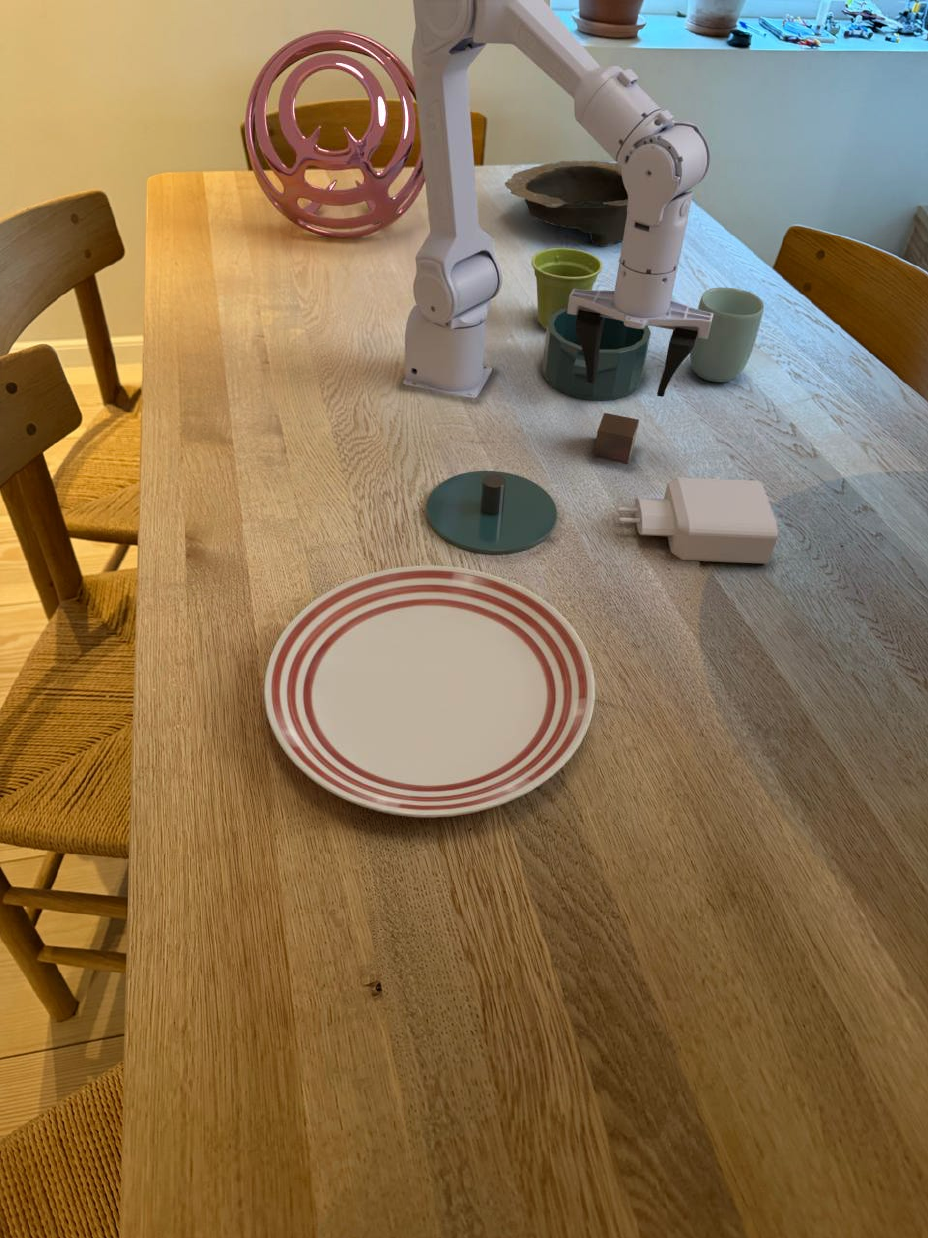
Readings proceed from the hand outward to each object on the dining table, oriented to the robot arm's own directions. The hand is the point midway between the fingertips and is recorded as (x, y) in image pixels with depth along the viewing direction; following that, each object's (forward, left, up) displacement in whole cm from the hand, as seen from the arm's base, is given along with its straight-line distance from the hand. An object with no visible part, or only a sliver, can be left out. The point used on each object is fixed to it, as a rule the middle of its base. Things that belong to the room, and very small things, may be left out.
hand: (626, 385), depth 103 cm
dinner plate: (-8, -42, -9) cm, 44 cm away
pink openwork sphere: (-53, +47, -9) cm, 71 cm away
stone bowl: (-18, +64, -9) cm, 67 cm away
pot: (-6, +17, -9) cm, 20 cm away
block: (0, 0, -9) cm, 9 cm away
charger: (+10, -12, -9) cm, 18 cm away
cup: (+9, +23, -9) cm, 26 cm away
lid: (-10, -16, -8) cm, 21 cm away
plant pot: (-13, +29, -9) cm, 33 cm away
